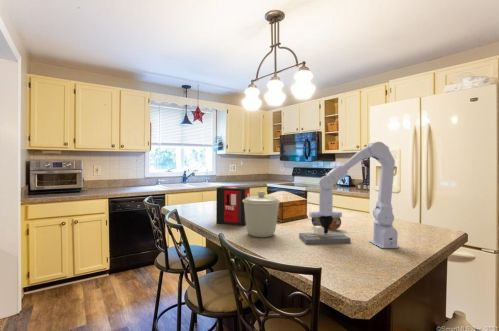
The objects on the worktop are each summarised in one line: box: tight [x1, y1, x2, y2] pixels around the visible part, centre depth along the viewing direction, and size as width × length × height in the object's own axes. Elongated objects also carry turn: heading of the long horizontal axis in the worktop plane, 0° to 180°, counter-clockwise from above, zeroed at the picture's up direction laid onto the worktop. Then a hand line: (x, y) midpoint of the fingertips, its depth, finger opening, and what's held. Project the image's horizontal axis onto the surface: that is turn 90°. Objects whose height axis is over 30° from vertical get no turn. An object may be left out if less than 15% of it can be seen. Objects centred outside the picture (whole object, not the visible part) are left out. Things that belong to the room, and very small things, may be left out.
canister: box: [242, 190, 281, 238], centre depth 128 cm, size 18×18×21 cm
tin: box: [310, 217, 342, 231], centre depth 140 cm, size 15×3×8 cm, turn 62°
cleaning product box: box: [215, 185, 251, 227], centre depth 150 cm, size 16×9×20 cm, turn 73°
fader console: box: [298, 231, 352, 245], centre depth 120 cm, size 10×20×3 cm, turn 97°
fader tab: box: [313, 225, 324, 235], centre depth 120 cm, size 4×3×4 cm
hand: (325, 232), depth 120 cm, fingers closed
